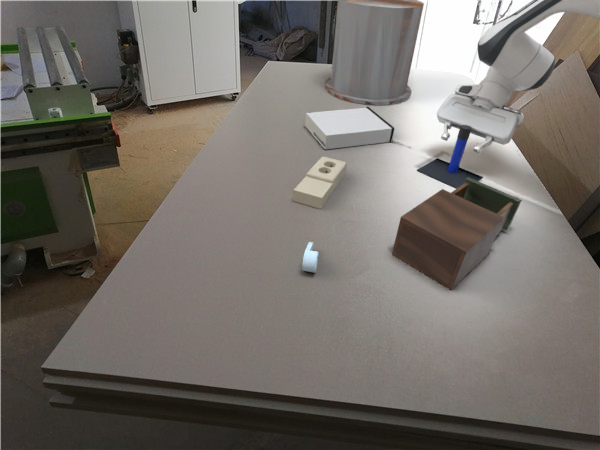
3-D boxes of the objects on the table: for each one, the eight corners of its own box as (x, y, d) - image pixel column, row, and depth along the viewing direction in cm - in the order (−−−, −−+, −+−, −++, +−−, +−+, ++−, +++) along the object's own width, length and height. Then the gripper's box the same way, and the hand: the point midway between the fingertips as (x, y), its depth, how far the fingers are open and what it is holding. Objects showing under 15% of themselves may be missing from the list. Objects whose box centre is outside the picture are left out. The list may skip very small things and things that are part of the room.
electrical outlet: (293, 186, 94) (322, 155, 108) (293, 201, 97) (320, 168, 110) (322, 194, 92) (347, 161, 106) (320, 209, 95) (345, 175, 108)
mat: (487, 174, 112) (487, 173, 112) (463, 191, 104) (463, 190, 104) (442, 156, 120) (442, 154, 120) (416, 170, 112) (417, 169, 112)
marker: (459, 171, 112) (473, 127, 104) (454, 174, 111) (468, 130, 103) (450, 167, 114) (463, 123, 106) (445, 170, 112) (458, 126, 104)
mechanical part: (314, 276, 76) (316, 258, 74) (301, 274, 76) (303, 256, 75) (320, 255, 83) (322, 238, 81) (308, 253, 84) (310, 236, 82)
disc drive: (391, 142, 126) (394, 127, 123) (325, 150, 119) (326, 134, 116) (366, 120, 139) (368, 106, 136) (304, 126, 132) (305, 111, 129)
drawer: (466, 198, 100) (476, 171, 95) (516, 221, 93) (529, 192, 88) (426, 228, 89) (435, 199, 84) (479, 257, 82) (492, 226, 78)
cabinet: (431, 224, 92) (442, 188, 86) (488, 254, 85) (504, 217, 79) (391, 254, 83) (400, 216, 77) (451, 290, 76) (466, 251, 70)
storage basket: (398, 112, 147) (418, 13, 127) (311, 93, 158) (317, 0, 138) (419, 85, 172) (438, 0, 153) (342, 71, 183) (351, -10, 164)
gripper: (528, 119, 103) (498, 165, 104) (455, 96, 115) (428, 137, 115) (528, 106, 98) (496, 154, 98) (452, 84, 109) (424, 127, 110)
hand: (459, 145), depth 107 cm, fingers open, 8 cm apart
